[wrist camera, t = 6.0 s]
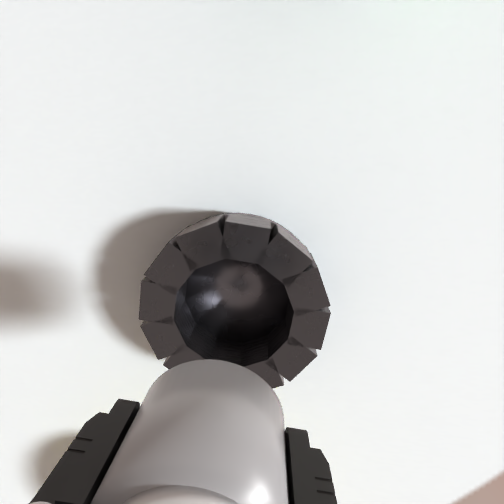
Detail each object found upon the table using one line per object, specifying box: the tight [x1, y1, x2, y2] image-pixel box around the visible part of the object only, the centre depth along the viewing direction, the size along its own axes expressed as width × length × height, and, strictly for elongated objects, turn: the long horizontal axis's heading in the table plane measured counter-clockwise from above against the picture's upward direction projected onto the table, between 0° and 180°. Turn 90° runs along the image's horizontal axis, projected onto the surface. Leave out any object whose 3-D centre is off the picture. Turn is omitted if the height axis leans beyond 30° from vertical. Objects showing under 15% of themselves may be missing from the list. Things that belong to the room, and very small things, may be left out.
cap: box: [91, 359, 289, 504], centre depth 10 cm, size 6×6×4 cm
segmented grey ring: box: [139, 213, 331, 388], centre depth 22 cm, size 12×12×4 cm
